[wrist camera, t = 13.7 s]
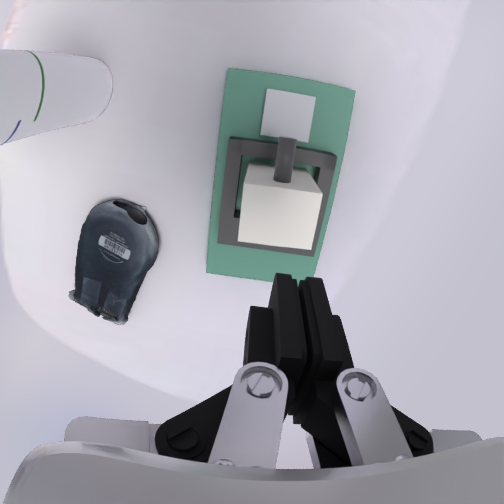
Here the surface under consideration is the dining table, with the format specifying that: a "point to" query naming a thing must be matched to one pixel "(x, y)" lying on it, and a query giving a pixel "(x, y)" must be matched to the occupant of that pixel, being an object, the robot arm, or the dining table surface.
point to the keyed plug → (279, 202)
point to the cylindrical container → (49, 92)
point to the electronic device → (113, 260)
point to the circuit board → (265, 150)
